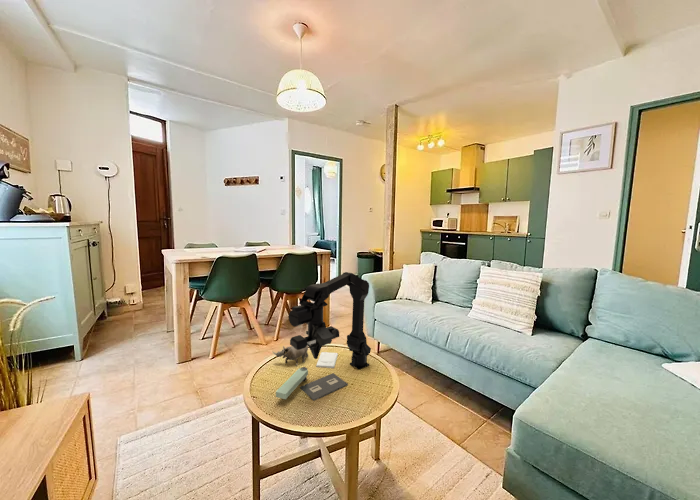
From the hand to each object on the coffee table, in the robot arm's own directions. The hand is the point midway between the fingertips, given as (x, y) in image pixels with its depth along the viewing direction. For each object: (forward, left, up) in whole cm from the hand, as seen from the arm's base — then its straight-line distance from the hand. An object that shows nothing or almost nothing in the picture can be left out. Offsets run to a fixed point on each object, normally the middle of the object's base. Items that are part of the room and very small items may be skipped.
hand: (315, 358), depth 110 cm
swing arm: (+7, -5, -10) cm, 13 cm away
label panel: (-4, -3, -13) cm, 14 cm away
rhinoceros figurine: (-4, -24, -13) cm, 28 cm away
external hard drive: (-17, -16, -14) cm, 27 cm away
